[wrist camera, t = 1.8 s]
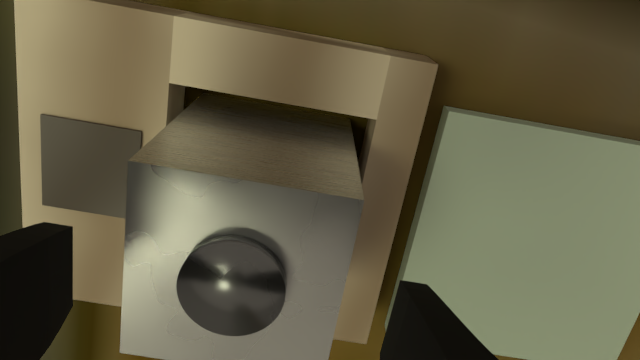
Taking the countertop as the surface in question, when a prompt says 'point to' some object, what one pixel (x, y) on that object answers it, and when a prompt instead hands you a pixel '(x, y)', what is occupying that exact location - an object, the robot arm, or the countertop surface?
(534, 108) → the countertop surface
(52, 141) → the birch frame
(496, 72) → the countertop surface
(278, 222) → the knob-topped grey cube
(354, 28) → the countertop surface
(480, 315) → the rubber pad
